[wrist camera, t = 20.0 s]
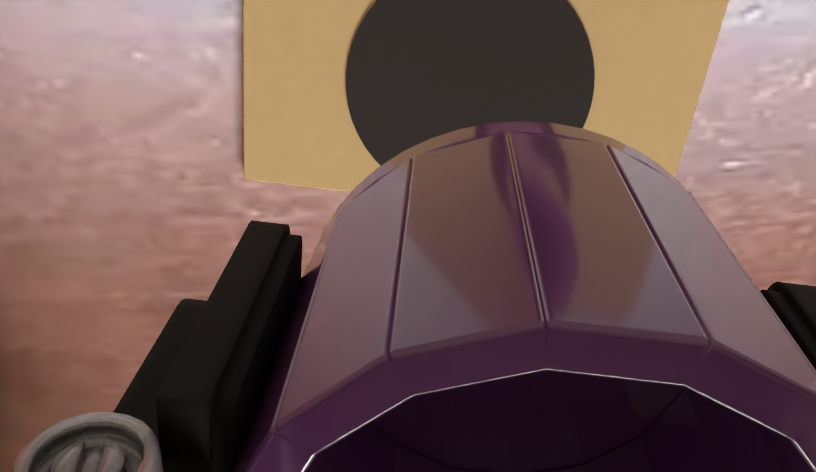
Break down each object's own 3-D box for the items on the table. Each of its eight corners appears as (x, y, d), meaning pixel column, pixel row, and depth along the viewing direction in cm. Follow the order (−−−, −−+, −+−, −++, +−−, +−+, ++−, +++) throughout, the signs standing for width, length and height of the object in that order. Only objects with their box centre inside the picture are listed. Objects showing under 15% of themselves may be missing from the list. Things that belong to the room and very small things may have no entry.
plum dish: (315, 93, 10) (208, 282, 6) (787, 148, 10) (1049, 380, 6) (298, 445, 13) (222, 744, 9) (659, 487, 13) (764, 806, 9)
